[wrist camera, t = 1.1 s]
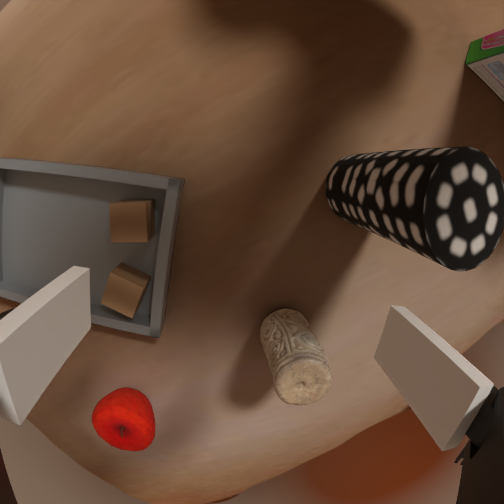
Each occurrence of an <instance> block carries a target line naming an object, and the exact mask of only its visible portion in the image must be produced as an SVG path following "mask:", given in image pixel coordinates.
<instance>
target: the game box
mask: <svg viewBox="0 0 504 504" xmlns="http://www.w3.org/2000/svg"><path fill="white" fill-rule="evenodd" d="M466 65H467V66H468V67H469V68H470V69H472V70H473V71H474V72H475V73H476V74H477V75H478V76H479V77H480V78H481V79H482V80H483V81H484V82H485V83H486V84H487V85H488V86H489V87H490V88H491V89H492V90H493V91H494V92H495V93H496V94H497V95H498V96H499V98H500V99H501V100H502V101H503V102H504V29H503V30H501V31H498V32H495V33H493V34H490V35H488V36H485V37H483V38H480V39H478V40H475V41H473V42H471V44H470V48H469V52H468V55H467V59H466Z"/></svg>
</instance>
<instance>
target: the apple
mask: <svg viewBox="0 0 504 504" xmlns="http://www.w3.org/2000/svg"><path fill="white" fill-rule="evenodd" d="M92 423H93V426H94V428H95V430H96V432H97V433H98V435H99V436H100V437H101V438H102V439H104V440H105V441H106V442H107V443H108V444H110V445H111V446H113V447H116V448H119V449H122V450H129V451H140V450H144V449H145V448H147V447H148V446H149V445H150V444H151V443H152V441H153V439H154V436H155V418H154V413H153V409H152V406H151V404H150V402H149V400H148V398H147V397H146V396H145V395H144V394H142V393H141V392H140V391H138V390H135V389H132V388H127V387H124V388H121V389H117V390H115V391H113V392H111V393H110V394H108V395H107V396H105V397H104V398H103V399H101V400H100V401H99V402H98V404H97V405H96V407H95V409H94V411H93V414H92Z"/></svg>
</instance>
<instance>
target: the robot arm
mask: <svg viewBox="0 0 504 504" xmlns="http://www.w3.org/2000/svg"><path fill="white" fill-rule="evenodd" d="M90 328H91V314H90V268H84V267H78V266H73V267H71V268H70V269H69V270H67V271H66V272H64V273H63V274H61V275H60V276H59V277H57V278H56V279H54V280H53V281H52V282H50V283H49V284H47V285H46V286H45V287H43V288H42V289H40V290H39V291H38V292H36V293H35V294H34V295H32V296H31V297H30V298H28V299H27V300H26V301H24V302H23V303H22V304H20V305H19V306H18V307H16V308H13V309H10V310H8V311H5V312H2V313H1V314H0V414H1V417H2V418H4V419H7V420H9V421H11V422H14V423H16V424H18V425H22V423H23V422H24V420H25V419H26V417H27V416H28V414H29V413H30V411H31V410H32V408H33V407H34V405H35V404H36V402H37V401H38V399H39V398H40V396H41V395H42V393H43V392H44V391H45V389H46V388H47V386H48V385H49V384H50V382H51V381H52V379H53V378H54V377H55V375H56V374H57V372H58V371H59V370H60V368H61V367H62V365H63V364H64V363H65V361H66V360H67V359H68V357H69V356H70V355H71V353H72V352H73V351H74V349H75V348H76V347H77V345H78V344H79V343H80V341H81V340H82V339H83V337H84V336H85V335H86V334H87V332H88V331H89V330H90ZM374 358H375V360H376V361H377V362H378V364H379V365H380V366H381V368H382V369H383V370H384V372H385V373H386V374H387V376H388V377H389V378H390V380H391V381H392V383H393V384H394V385H395V387H396V388H397V389H398V391H399V392H400V393H401V395H402V396H403V397H404V399H405V400H406V402H407V403H408V404H409V406H410V407H411V408H412V410H413V411H414V413H415V414H416V415H417V417H418V418H419V419H420V421H421V422H422V424H423V425H424V426H425V428H426V429H427V431H428V432H429V434H430V435H431V436H432V438H433V439H434V441H435V442H436V443H437V445H438V446H439V448H440V449H441V451H445V450H448V449H452V448H455V447H457V446H458V445H459V443H460V442H461V440H462V439H463V437H464V436H465V434H466V435H467V436H468V437H469V439H470V440H469V441H468V443H467V444H466V446H465V447H464V448H463V450H462V451H461V453H460V454H459V456H458V457H457V458H456V460H455V463H457V462H458V461H459V460H460V459H461V458H463V461H462V462H461V465H463V467H462V473H461V479H460V486H459V491H458V496H457V502H456V504H504V387H502V388H500V389H499V390H498V389H497V388H496V387H495V386H494V384H493V383H492V382H491V381H490V380H489V379H488V378H487V377H485V376H484V375H483V374H482V373H481V372H480V371H479V370H478V369H477V368H475V367H474V366H473V365H472V364H471V363H470V362H469V361H467V360H466V359H465V358H464V357H463V356H462V355H461V354H460V353H459V352H457V351H456V350H455V349H454V348H453V347H452V346H451V345H449V344H448V343H447V342H446V341H445V340H444V339H442V338H441V337H440V336H439V335H438V334H437V333H435V332H434V331H433V330H432V329H431V328H429V327H428V326H427V325H426V324H425V323H424V322H422V321H421V320H420V319H419V318H418V317H416V316H415V315H414V314H413V313H412V312H410V311H409V310H408V309H407V308H405V307H404V306H392V305H391V307H390V310H389V314H388V317H387V320H386V323H385V326H384V329H383V332H382V335H381V338H380V341H379V344H378V347H377V350H376V353H375V356H374ZM0 504H18V503H17V501H16V498H15V496H14V492H13V490H12V487H11V484H10V481H9V478H8V475H7V471H6V468H5V464H4V461H3V457H2V453H1V449H0Z"/></svg>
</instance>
